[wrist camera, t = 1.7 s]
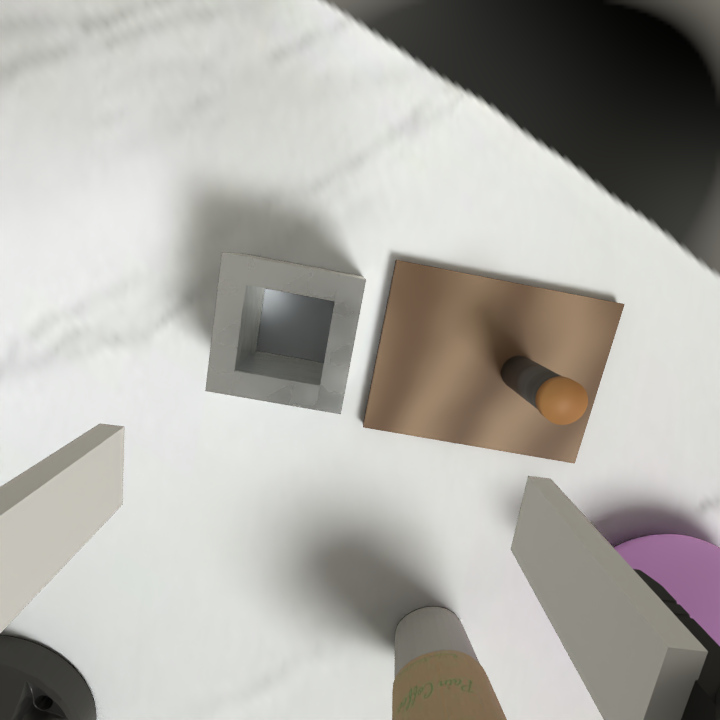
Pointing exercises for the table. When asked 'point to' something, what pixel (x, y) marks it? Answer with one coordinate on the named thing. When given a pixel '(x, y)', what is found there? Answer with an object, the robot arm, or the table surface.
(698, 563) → the teapot
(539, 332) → the keeper
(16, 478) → the robot arm
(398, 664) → the coffee cup
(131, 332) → the table surface
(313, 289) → the hollow square block
